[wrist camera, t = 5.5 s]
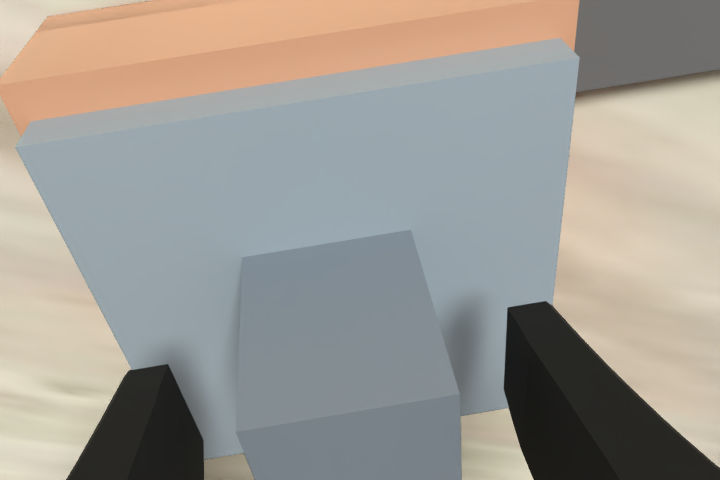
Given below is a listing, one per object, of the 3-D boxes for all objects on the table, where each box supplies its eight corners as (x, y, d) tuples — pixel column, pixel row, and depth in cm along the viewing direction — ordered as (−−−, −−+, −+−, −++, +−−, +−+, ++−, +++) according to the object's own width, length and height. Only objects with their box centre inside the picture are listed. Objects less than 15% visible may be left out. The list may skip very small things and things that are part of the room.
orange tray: (519, -56, 12) (579, -7, 10) (504, 286, 18) (541, 369, 15) (47, 16, 12) (-5, 85, 10) (184, 339, 18) (172, 432, 15)
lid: (530, 375, 16) (606, 557, 12) (184, 434, 15) (161, 635, 12) (560, 37, 10) (709, 191, 7) (30, 121, 10) (-90, 322, 7)
